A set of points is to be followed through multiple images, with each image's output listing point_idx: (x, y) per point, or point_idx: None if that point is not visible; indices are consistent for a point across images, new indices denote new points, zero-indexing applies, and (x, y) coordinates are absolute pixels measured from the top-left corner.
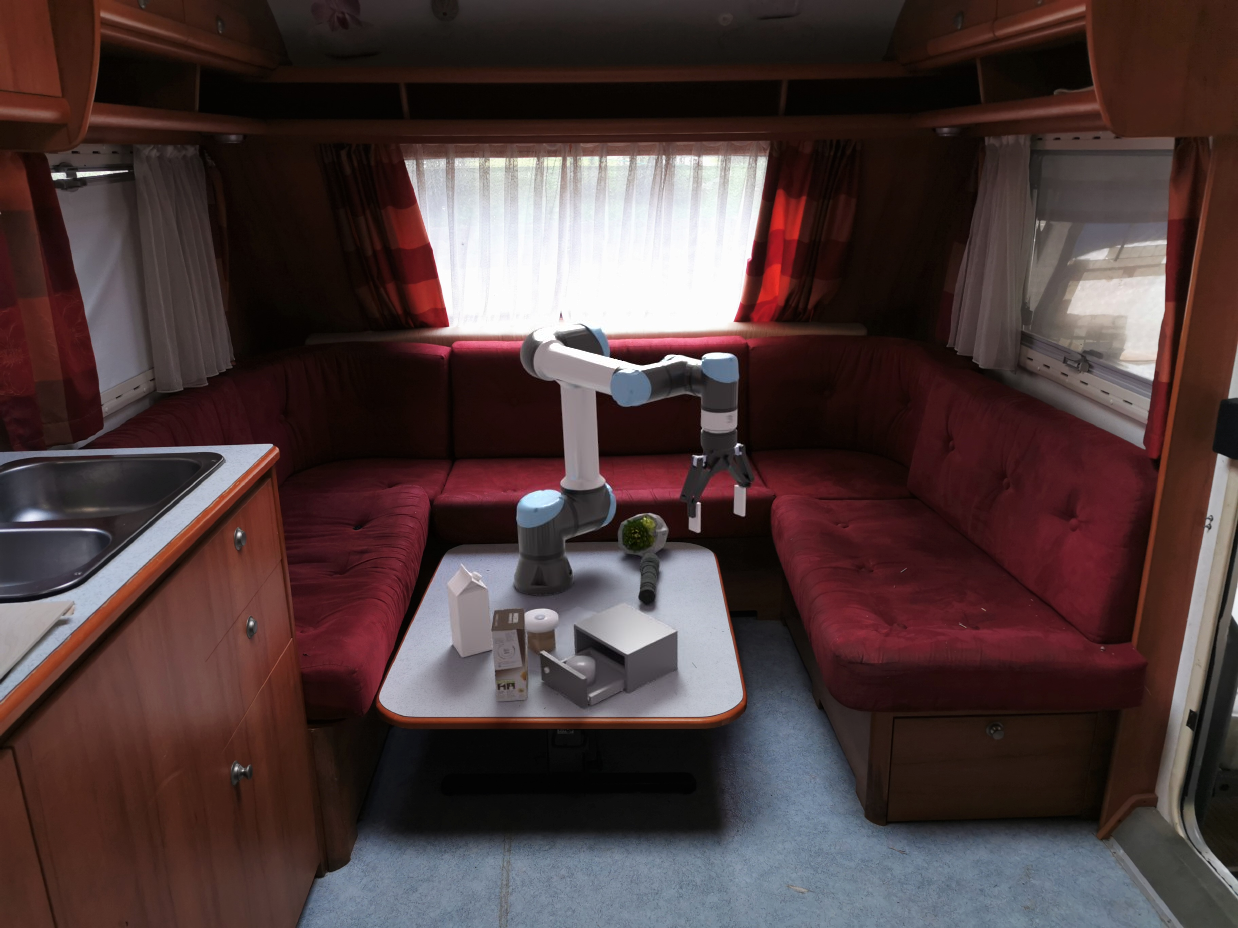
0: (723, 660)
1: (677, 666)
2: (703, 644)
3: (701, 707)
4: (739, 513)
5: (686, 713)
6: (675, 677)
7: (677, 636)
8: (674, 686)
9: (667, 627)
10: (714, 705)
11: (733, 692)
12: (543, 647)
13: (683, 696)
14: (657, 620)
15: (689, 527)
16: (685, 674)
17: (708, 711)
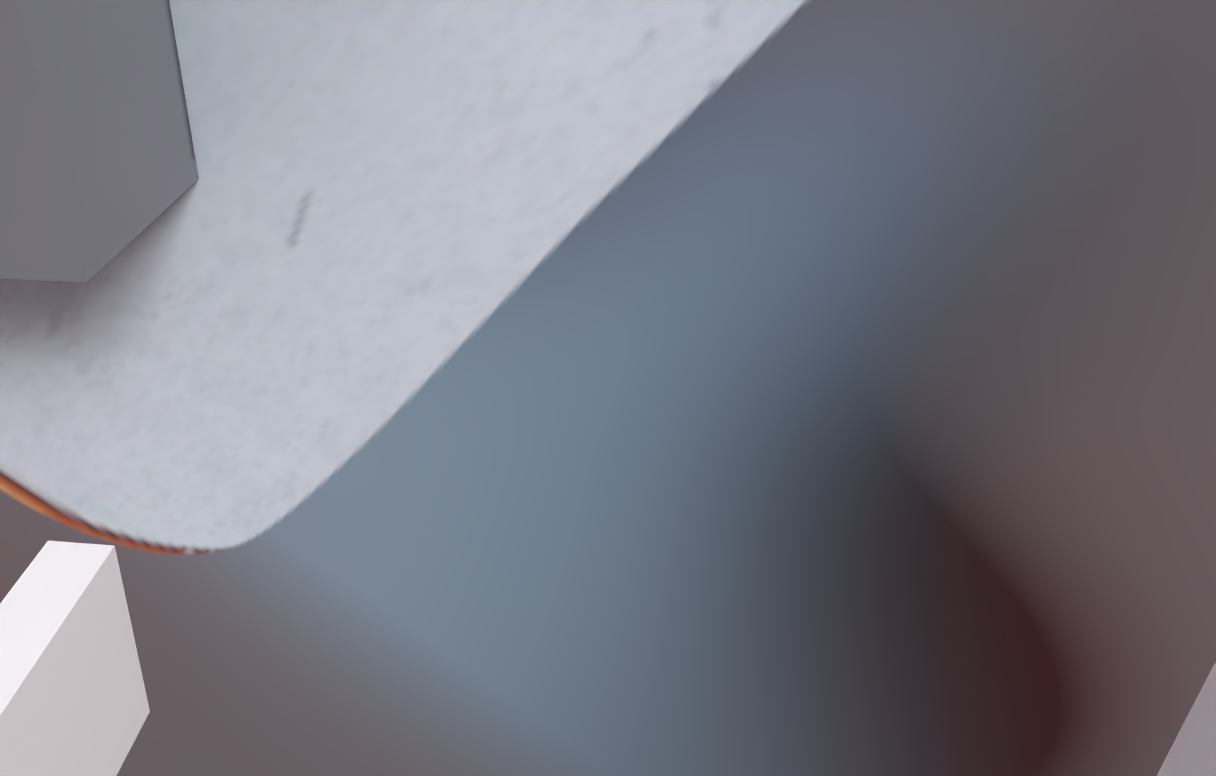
0: (458, 299)
1: (192, 183)
2: (500, 107)
3: (94, 468)
4: (1193, 759)
5: (9, 453)
6: None
7: (106, 264)
8: None
9: (46, 205)
10: (154, 495)
11: (292, 492)
12: None
13: (71, 366)
14: (36, 74)
15: (31, 575)
16: (198, 248)
17: (104, 503)
